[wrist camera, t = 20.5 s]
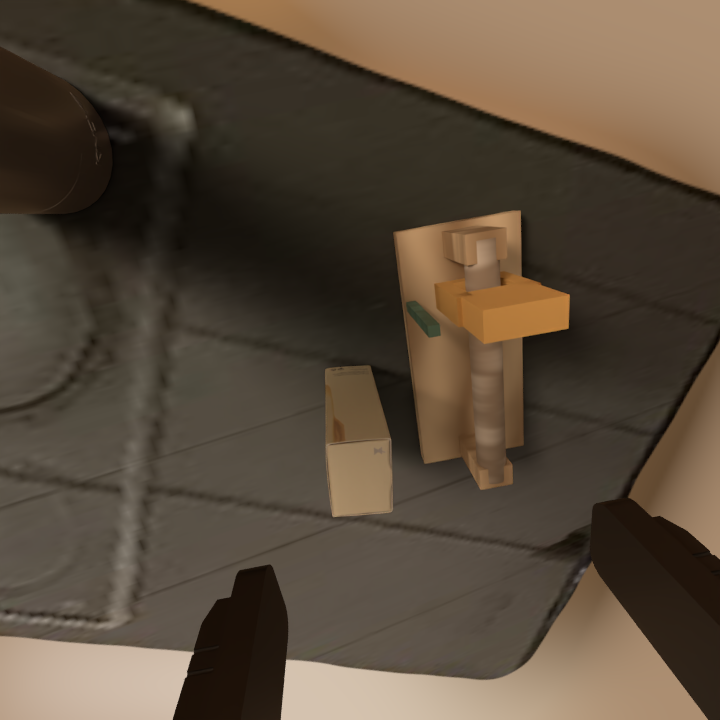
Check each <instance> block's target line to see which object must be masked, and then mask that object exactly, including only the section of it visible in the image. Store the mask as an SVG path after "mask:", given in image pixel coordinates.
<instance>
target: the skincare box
mask: <svg viewBox="0 0 720 720" xmlns="http://www.w3.org/2000/svg"><path fill="white" fill-rule="evenodd" d="M325 391H326V468H327V479H328V488H329V495H330V503H331V509H332V516H333V517H339V516H353V515H366V514H379V513H390V512H391V511H392V510H393V488H392V450H391V437H390V433H389V430H388V426H387V423H386V419H385V416H384V412H383V408H382V405H381V402H380V398H379V395H378V391H377V388H376V384H375V381H374V377H373V373H372V370H371V366H370V365H365V366H346V367H335V368H327V369H326V370H325Z"/></svg>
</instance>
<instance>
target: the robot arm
mask: <svg viewBox="0 0 720 720" xmlns="http://www.w3.org/2000/svg"><path fill="white" fill-rule="evenodd" d="M112 165H113V160H112V148H111V144H110V140H109V136H108V133H107V130H106V128H105V126H104V124H103V122H102V119H101V118H100V116H99V115H98V113H97V112H96V110H95V109H94V107H93V106H92V104H91V103H90V102H89V101H88V100H87V99H86V98H85V97H84V96H83V95H82V94H81V93H80V91H78V90H77V89H76V88H74V87H73V86H72V85H70V84H69V83H68V82H66V81H65V80H63V79H61V78H59V77H57V76H55V75H53V74H52V73H50V72H48V71H46V70H44V69H42V68H40V67H38V66H36V65H34V64H32V63H30V62H29V61H27V60H25V59H23V58H21V57H19V56H17V55H16V54H14V53H12V52H10V51H8V50H6V49H4V48H2V47H0V214H67V213H73V212H78V211H80V210H83V209H85V208H87V207H89V206H90V205H92V204H93V203H94V202H96V201H97V200H98V199H99V198H100V196H101V195H102V194H103V192H104V191H105V190H106V187H107V185H108V183H109V180H110V178H111V172H112ZM590 554H591V558H592V561H593V564H594V566H595V568H596V570H597V572H598V574H599V575H600V577H601V578H602V579H603V581H604V582H605V583H606V585H607V586H608V587H609V589H610V590H611V591H612V593H613V594H614V595H615V597H616V598H617V599H618V601H619V602H620V603H621V605H622V606H623V607H624V609H625V610H626V611H627V612H628V614H629V615H630V617H631V618H632V619H633V620H634V622H635V623H636V625H637V626H638V627H639V628H640V630H641V631H642V632H643V634H644V635H645V636H646V638H647V639H648V640H649V642H650V643H651V644H652V646H653V647H654V648H655V650H656V651H657V652H658V654H659V655H660V656H661V658H662V659H663V660H664V661H665V663H666V664H667V666H668V667H669V668H670V669H671V671H672V672H673V674H674V675H675V676H676V677H677V679H678V680H679V681H680V683H681V684H682V685H683V687H684V688H685V689H686V690H687V692H688V693H689V695H690V696H691V697H692V698H693V700H694V701H695V703H696V704H697V705H698V707H699V708H700V709H701V711H702V712H703V713H704V714H705V716H706V717H707V719H708V720H720V559H718V558H717V557H716V556H715V555H712V554H711V553H710V551H709V550H708V549H707V548H706V547H705V546H704V545H703V544H701V543H700V542H699V541H698V540H697V539H696V538H695V537H694V536H692V535H691V534H690V533H689V532H688V531H686V530H685V529H683V528H681V527H679V526H677V525H675V524H673V523H672V522H670V521H668V520H666V519H664V518H663V517H660V516H657V517H651V516H650V515H649V514H648V513H647V512H646V511H645V510H644V509H643V508H641V507H640V506H639V505H638V504H637V503H636V502H635V501H633V500H632V499H630V498H621V499H616V500H611V501H605V502H600V503H596V504H595V505H594V506H593V510H592V524H591V539H590ZM287 643H288V616H287V610H286V606H285V603H284V600H283V597H282V594H281V591H280V588H279V585H278V582H277V579H276V576H275V573H274V570H273V567H272V566H271V565H265V566H259V567H254V568H249V569H244V570H240V571H239V572H238V573H237V575H236V579H235V582H234V587H233V591H232V595H231V597H229V598H224V599H219V600H217V601H216V603H215V604H214V606H213V607H212V609H211V610H210V612H209V613H208V615H207V616H206V618H205V619H204V621H203V622H202V625H201V628H200V631H199V634H198V638H197V641H196V644H195V648H194V655H192V658H191V661H190V664H189V668H188V671H187V678H185V681H184V684H183V687H182V690H181V694H180V697H179V701H178V704H177V707H176V710H175V714H174V717H173V720H281V709H282V697H283V687H284V675H285V665H286V654H287Z"/></svg>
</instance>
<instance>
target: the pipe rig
mask: <svg viewBox="0 0 720 720" xmlns="http://www.w3.org/2000/svg"><path fill="white" fill-rule="evenodd" d="M393 235H394V243H395V251H396V259H397V267H398V275H399V283H400V291H401V299H402V307H403V315H404V322H405V330H406V338H407V346H408V354H409V362H410V370H411V378H412V386H413V394H414V402H415V410H416V418H417V426H418V434H419V441H420V449H421V456H422V458H423V461H424V463H425V464H427V463H432V462H438V461H443V460H448V459H454V458H459V457H463V459H464V461H465V463H466V465H467V466H468V468H469V470H470V472H471V473H472V475H473V477H474V479H475V481H476V482H477V484H478V486H479V488H480V490H484V489H489V488H494V487H499V486H505V485H510V484H513V469H512V463H511V462H510V461H509V459H508V458H507V457H506V449H507V448H512V447H517V446H523V445H524V437H523V353H522V337H520V338H515V339H509V340H504V341H498V342H493V343H487V344H483V343H482V342H481V341H480V340H479V339H477V338H476V337H475V336H474V335H473V334H471V333H470V332H469V331H468V330H467V329H465V328H464V327H458V326H456V325H455V324H454V323H453V322H452V321H451V320H449V319H448V318H447V317H446V316H445V315H444V314H442V313H441V312H440V311H439V310H438V309H437V308H436V298H435V287H434V284H435V283H441V282H446V281H452V280H457V279H463V278H465V287H466V291H467V292H470V291H476V290H481V289H487V288H492V287H498V286H501V282H500V272H502V271H505V272H509V273H512V274H515V275H518V276H521V277H522V270H521V211H509V212H503V213H498V214H492V215H486V216H481V217H475V218H469V219H464V220H458V221H452V222H447V223H441V224H435V225H430V226H424V227H418V228H413V229H407V230H401V231H396V232H393Z"/></svg>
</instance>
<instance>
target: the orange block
mask: <svg viewBox="0 0 720 720" xmlns="http://www.w3.org/2000/svg"><path fill="white" fill-rule="evenodd" d="M500 282H501V286H498V287H492V288H487V289H481V290H476V291H470V292H467V291H466V287H465V278H463V279H457V280H452V281H446V282H441V283H435V284H434V287H435V298H436V308H437V309H438V310H439V311H440V312H441V313H442V314H444V315H445V316H446V317H447V318H448V319H449V320H451V321H452V322H453V323H454V324H455V325H456V326H458V327H464V328H465V329H467V330H468V331H469V332H470V333H471V334H473V335H474V336H475V337H476V338H477V339H479V340H480V341H481V342H482V343H483V344H487V343H493V342H498V341H504V340H509V339H515V338H520V337H526V336H531V335H537V334H542V333H548V332H553V331H558V330H564V329H569V300H570V295H569V294H566V293H563V292H560V291H557V290H554V289H551V288H548V287H545V286H542V285H541V283H540V282H536V281H533V280H530V279H527V278H524V277H521V276H518V275H515V274H512V273H509V272H505V271H502V272H500Z"/></svg>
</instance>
